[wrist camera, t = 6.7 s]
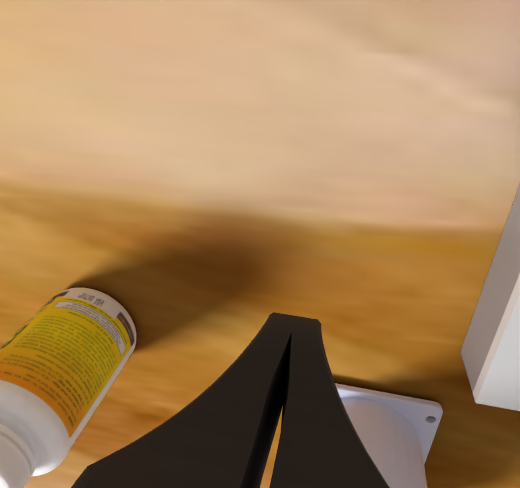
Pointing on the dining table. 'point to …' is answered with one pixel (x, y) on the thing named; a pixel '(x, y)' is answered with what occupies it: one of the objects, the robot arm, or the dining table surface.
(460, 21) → the dining table surface
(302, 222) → the dining table surface
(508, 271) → the keypad base
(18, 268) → the dining table surface
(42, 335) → the supplement bottle
